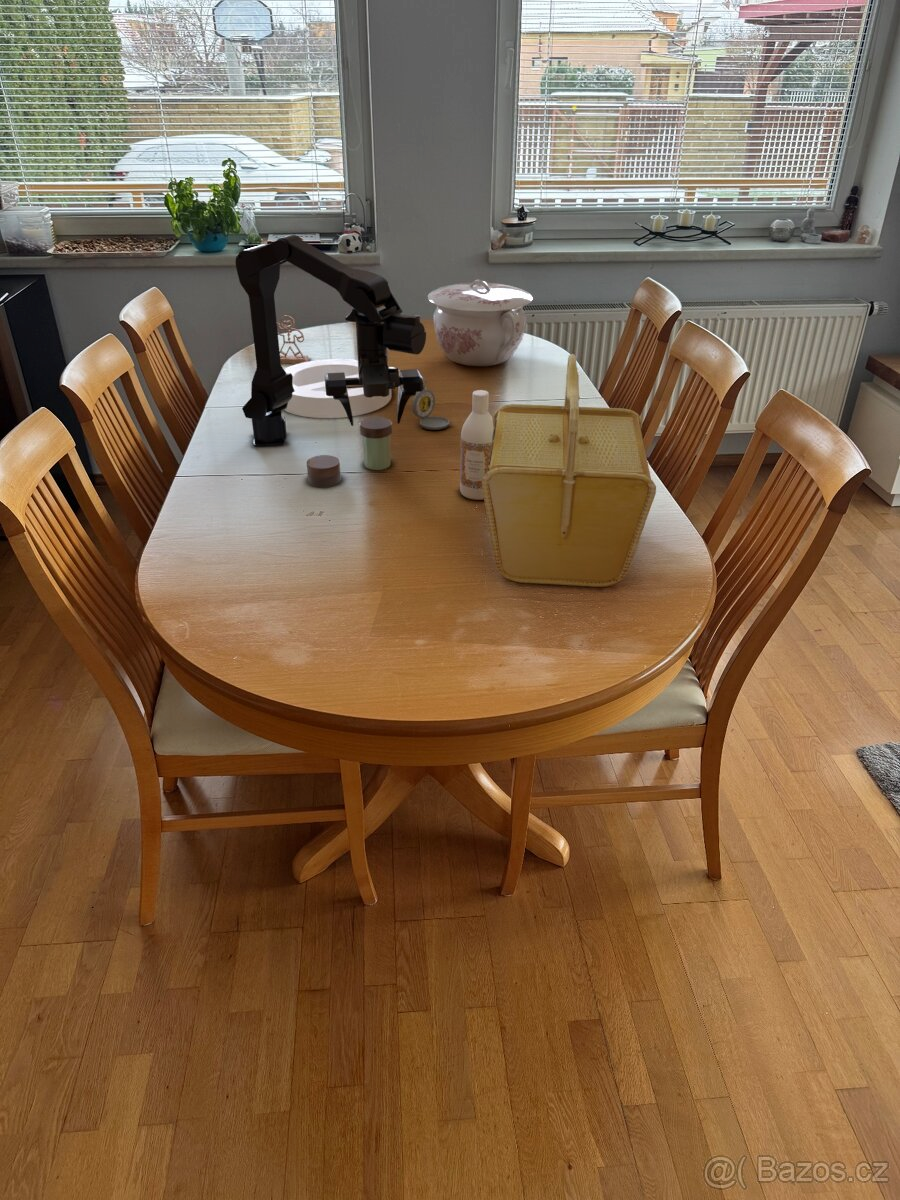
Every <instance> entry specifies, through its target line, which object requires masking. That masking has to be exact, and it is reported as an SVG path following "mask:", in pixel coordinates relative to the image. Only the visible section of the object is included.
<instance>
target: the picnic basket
mask: <svg viewBox="0 0 900 1200" xmlns="http://www.w3.org/2000/svg"><path fill="white" fill-rule="evenodd" d="M579 376H580V375H579V371H578V367H577V356H576V354H574V353H570V354H569V355H568V356H567V366H566V375H565V391H564V403H563V404H564V405H548V404H547V405H546V404H521V403H520V404H519V403H509V404H504V405H502V406H500V407H498V408H497V409H496V410H495V412H494V413H493V414H492V418H493V428H494V431H493V437H492V443H491V450H490V456H489V462H488V468H487V473H486V475H485V476H484V477H483V479H482V489H483V495H484V506H485V513H486V517H487V518H486V519H487V525H488V531H489V535H490V543H491V547H492V548H491V549H492V553H493V560H494V565H495V568H496V569H497V571H498V573H499V574H500V575H502V576H503V577H504V578H506V579H507V580H510V581H512V582H516V583H523V584H541V585H556V586H557V585H559V586H574V587H576V586H577V587H590V588H591V587H592V588H603V587H610V586H613V585H616V584H618V583H619V582H620V581H623V579H625V577H626V575H627V574H628V573H629V569H630V567H631V564H632V561H633V558H634V556H635V552H636V550H637V548H638V545H639V541H640V539H641V536H642V533H643V531H644V528H645V524H646V522H647V519H648V516H649V514H650V510H651V508H652V505H653V503H654V500H655V497H656V494H657V485H656V484H655V482H654V480H653V479H652V477H651V472H650V467H649V463H648V458H647V452H646V448H645V443H644V438H643V433H642V428H643V420H642V417H641V416H640V415H639V413H637V412H635V411H634V410H633V409H629V408H624V407H623V408H622V407H621V408H619V407H596V406H580V403H579V401H580V398H581V395H580V381H579V379H580V378H579Z"/></svg>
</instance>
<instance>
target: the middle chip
mask: <svg viewBox="0 0 900 1200" xmlns="http://www.w3.org/2000/svg"><path fill="white" fill-rule="evenodd" d="M306 472H307V475H308V474H309V475H310V476H312V477H316V478H329V477H333V476H335V475H337V474H338V473H339V472H340V473H341V463H340V459H339V458H338V457H336V456H333V455H329V454H321V455H316V456H312V457H310V458H308V459H307V461H306Z"/></svg>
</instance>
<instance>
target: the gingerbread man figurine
mask: <svg viewBox="0 0 900 1200" xmlns="http://www.w3.org/2000/svg"><path fill="white" fill-rule="evenodd" d="M284 318H289V320H286V319H284ZM283 319H284V320H283ZM295 322H296V321H295V319H294V318H293V317H292V316H291V315H288V314H286V315H283V316H282V317H281V319H280V322H278V321H277V329H280V330H281V331H284V333H285V334H286V336H287V341H286V339H285V338H286V337H285V334H282V333H279V332H278V336H279V337H282V339H283V340H282V341H283V344H282V346H281V348H280V349H279V351H280V361H281V364H299V363H303V362H308V361H310V357H309V356H308V355H304V354H303V352H302V351H301V349H300V347H298V345H297V343H296V341H297V342H298V343H303V342H305V336H304V334H303V332H302V331H301V330H300V329H298V328H294V327H295ZM287 323H288V324H290V325H287ZM293 331H296V332H298V333H299V334H300V335H299V336H298V335H297V334H293V335H292V337H293V341H291V337H290V336H291V333H293ZM300 339H302V340H300ZM285 344H287V345H288V344H293V345H294V346H295V348H296V350H297V352H295V351H294V349H293V348H292V347H291V345H290V346H289V347H288V349H287V350H286V352H285V351H283V348H284V346H285ZM289 351H291V353H292V355H291V354H288V353H289Z"/></svg>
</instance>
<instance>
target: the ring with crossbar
mask: <svg viewBox="0 0 900 1200" xmlns="http://www.w3.org/2000/svg"><path fill="white" fill-rule="evenodd" d="M388 368H391V369H394V368H395V367H394V366H388ZM283 369H284V370H285V372H286V373H291V374H292V376H293V380H292V384H293V388H294V391H295V392H293V393H292V398H291V399H290V401H289V402H288V405H287V408H286V409H283V410H282V411H285V412H287V413H289V414H293V415H295V416H301V417H305V418H315V419H341V418H342V419H343V418H348V416H347V414H346V411H345V409H344V407H343V405H342V404H341V402H340V401H339V400H335V399H333V396H327V395H326V389H325V375H326V374H327V373H343V372H344V373H345V378H359V375H358V359H352V358H351V359H350V358H349V359H348V358H347V359H346V358H327V359H326V358H325V359H317V360H308V362H303V363H299V364H296V363H294V364H293V365H292V364H291V365H290V366H287V367H285V368H283ZM398 370H399V376H400V370H401V369H398ZM347 391H348V396H349V401H350V406H351V411H352V416H353V417H356V416H362V415H365V414H369V413H372V412H375V411H378V410H380V409H382V408H383V407H385V406H386V405H388V404H389V403H390V401H391V399H392V395H393V394H392V389H389V395H388V396H386V397H382V396H374V397H371V398H369V397H365V396H364V391H363V388H347Z"/></svg>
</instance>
